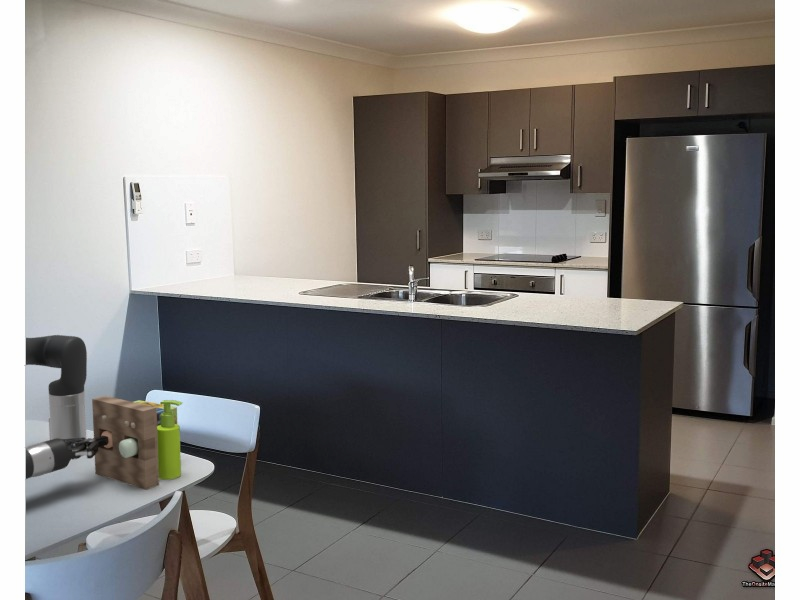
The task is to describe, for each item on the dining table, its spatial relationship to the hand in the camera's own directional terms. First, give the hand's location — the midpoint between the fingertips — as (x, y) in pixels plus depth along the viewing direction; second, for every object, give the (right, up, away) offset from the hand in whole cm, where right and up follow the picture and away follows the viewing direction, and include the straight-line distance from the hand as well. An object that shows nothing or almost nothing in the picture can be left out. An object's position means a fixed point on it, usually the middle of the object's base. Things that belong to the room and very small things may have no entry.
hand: (106, 439), depth 196 cm
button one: (+1, -2, +1) cm, 3 cm away
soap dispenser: (+16, -10, +3) cm, 19 cm away
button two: (+8, -3, -6) cm, 10 cm away
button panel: (+5, -10, 0) cm, 11 cm away
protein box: (+6, -9, +13) cm, 17 cm away
